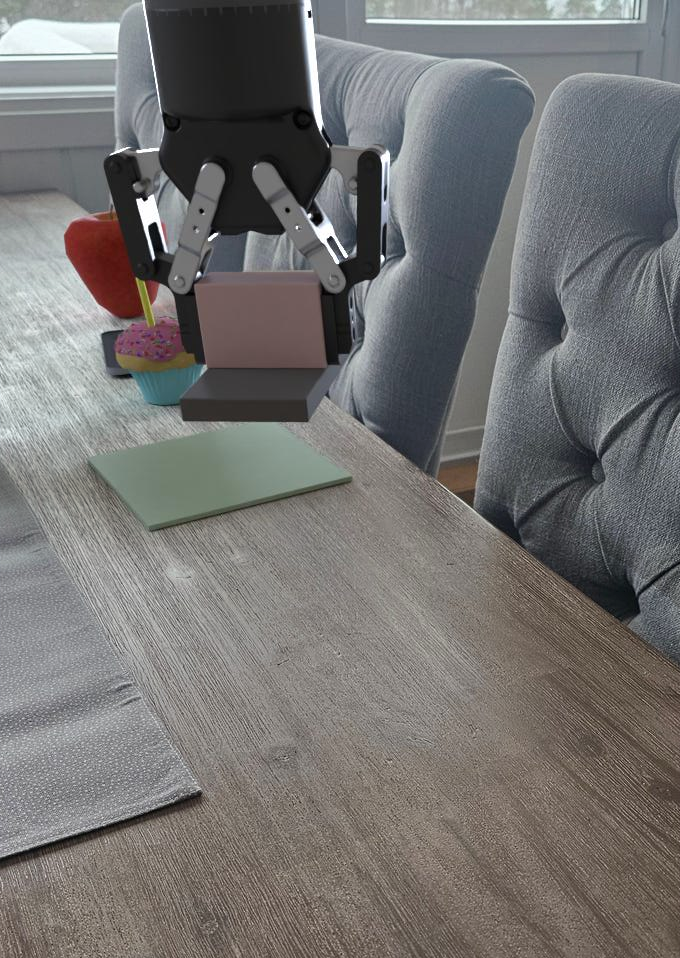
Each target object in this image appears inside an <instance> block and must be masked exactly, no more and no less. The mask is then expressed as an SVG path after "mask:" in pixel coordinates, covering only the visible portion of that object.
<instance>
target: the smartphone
mask: <svg viewBox="0 0 680 958" xmlns="http://www.w3.org/2000/svg"><path fill="white" fill-rule="evenodd" d="M125 329H126V328H124V329H123V328H122V329H116V330H115V329H114V330H107V331H104V332H100V334H99V335H100V341H101V342H100V343H101V349H102V353H103V363H104V365H105V370H106V373H107V374H108V375H111V376H121V375H129V374H130V375H131V373H130V372H129V370H127V369H124V368H122V367H121V366H120V365H119V363H118V362H117V359H116V352H115V349H114V346H115V342H116V340H117V339H118V335H119V334H122V332H123V331H124V330H125Z"/></svg>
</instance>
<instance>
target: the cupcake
mask: <svg viewBox="0 0 680 958" xmlns="http://www.w3.org/2000/svg"><path fill="white" fill-rule="evenodd" d="M136 281H137V285H138V289H139V293H140V297H141V301H142V305H143V309H144V313H145V314H144V316H145V319H144V320H143V321H139V322H136V323H131V324H130V326H128V327H127V328H124V329H125V330H124V331H123V332H122V334H119V335H118V339H117V340H116V342H115V346H114V349H115V352H116V359H117V362H118V363H119V365H120V366H121V367H122V368H124V369H127V370H129V372H130V375H131V377H132V378H133V380H134V381H135V383H136V385H137V386H138V388H139V390H140V392H141V394H142V396H143V399H144V400H145V401H146V402H147V403H148V404H152V405H157V406H170V405H171V406H172V405H178V404H179V405H180V403H179V398H180V397H181V396H182V395H183V394H184V393H185V392H186V391H187V390H188V389H189V388H190V387H191V386H192V385H193V384H194V383H195V381H196V380H197V379H198V378H199V377H200V376H201V375H202V374H201V373H202V370H203V367H204V365H197V364H196V362H195V358H194V354H187V352H186V351H185V349H184V347H183V345H182V341H181V335H180V329H179V323H178V318H176V317H172V316H168V317H167V316H166V315H163V316H159V317H154V314H153V309H152V305H151V306H150V302H149V298H148V294H147V290H146V286H145V282H144V281H142V280H139V279H138V278H136Z"/></svg>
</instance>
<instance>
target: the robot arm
mask: <svg viewBox="0 0 680 958" xmlns="http://www.w3.org/2000/svg"><path fill="white" fill-rule="evenodd" d="M142 4H143V11H144V16H145V22H146V29H147V34H148V35H147V36H148V42H149V47H150V53H151V54H150V55H151V60H152V66H153V72H154V79H155V86H156V91H157V99H158V103H159V110H160V115H161V118H162V125H163V128H162V129H163V132H162V137H161V141H160V143H159V145H158V147H157V148H149V149H140V150H139V149H138V148H136V147H134V146H128V147H125V148H122V149H120V150H117V151H115V152H112V153H110V154H109V155H106V157H105V158H104V159H103V164H102V165H103V170H104V175H105V178H106V181H107V185H108V189H109V192H110V196H111V199H112V200H111V201H112V203H113V204H112V205H113V208H114V211H116V214H117V218H118V222H119V225H120V229H121V233H122V236H123V240H124V243H125V247H126V251H127V254H128V258H129V262H130V265H131V269H132V272H133V274H134V275H135V277H136V278H138V279H139V280H142V281H149V280H151V281H154V282H157V283H160V284H159V285H163V286H165V287H166V288H167V289H168V290H169V291H170V292H171V294H172V296H173V298H174V299H173V300H174V304H175V311H176V317H177V319H178V323H179V329H180V335H181V341H182V345H183V347H184V349H185V351H186V352H187V354H194V358H195V362H196V364H197V365H203V366H206V360H205V354H204V347H203V341H202V334H201V328H200V321H199V315H198V308H197V302H196V295H195V289H194V285H195V284H196V283H197V282H198V281H200V280H201V279H202V278H203V277H205V276H206V273H207V270H208V267H209V265H210V261H211V258H212V256H213V253H214V251H215V248H216V246H217V245H218V243H219V241H220V239H221V236H222V237H223V236H238V235H242V234H246V233H248V232H254V233H258V234H262V235H266V236H283V235H284V234H286V233H287V235H288V236H289V238H290V240H291V241H292V243H293V245H294V246H295V248H296V249H297V251H298V252H299V254H301V255H302V256H304V257H305V259H306V260H307V262H308V264H309V265H310V266H311V268H312V270H314V271H315V273H316V275H317V276H318V278H319V279H320V281H321V283H322V284H323V286H324V291H323V293H322V294H321V295H320V300H321V310H322V320H323V330H324V341H325V351H326V361H327V364H328V365H341V364H342V363H343V361H344V359H345V358H346V354H350V352H351V350H352V349H353V347H354V344H355V341H356V338H357V334H356V323H357V321H356V322H355V315H356V309H355V310H354V302H355V297H354V298H353V290H354V286H355V285H358V284H360V283H362V282H365V281H374V280H375V279H376V278H378V276H379V275H380V274H381V271H382V270H383V269H384V267H385V266H386V264H387V262H388V245H389V244H388V241H389V206H390V205H389V203H390V200H389V199H390V170H391V169H390V167H391V166H390V163H391V160H390V159H391V156H390V155H391V154H390V151H389V149H387V147H386V146H385V145H383V144H381V143H373V144H371V145H369V146H368V147H363V146H362V147H361V146H351V145H341V144H334V143H333V140H332V139H331V137H330V136H329V134H328V132H327V129H326V128H325V126H324V122H323V118H322V109H321V99H320V87H319V77H318V75H319V74H318V65H317V54H316V43H315V33H314V31H315V30H314V22H313V11H312V0H142ZM332 169H334V170H335V171H337V172H338V173H339V174H340V176H341V178H342V180H343V182H342V183H343V187H344V189H345V191H346V192H347V193H348V194H350V195H352V196H356V231H355V232H356V233H355V234H356V235H355V237H356V238H355V240H356V241H355V243H356V244H355V245H356V246H355V253H352V254H350V255H348V254H347V253H346V251H345V250H344V247H343V246H342V245H341V243H340V241H339V239H338V238H337V236H336V234H335V229H334V226H333V225H332V223H331V220H330V219H329V217H328V215H327V214H326V213H325V210H324V209H323V208H322V205H321V204H320V202H319V200H318V199H317V195H318V194H319V192H320V190H321V189H322V187H323V185H324V183H325V181H326V180H327V178H328V176H329V174H330V172H331V171H332ZM162 173H164V174H165V176H167V178H168V179H169V180H170V182H171V183H172V184H173V185H174V186H175V187H176V189H177V190H178V191H179V193H180V194H181V195H182V196H183V198H184V199H185V200H186V201H187V202H188V204H189V207H188V210H187V213H186V216H185V219H184V222H183V225H182V227H181V231H180V234H179V236H178V241H177V246H178V247H177V250H176V253H175V254H172V253H169V251H168V245H167V246H166V242H165V239H164V235H163V231H162V227H161V223H160V220H161V219H160V215H159V212H158V207H157V204H156V200H155V196H154V195H155V194H157V193H158V192H159V191H160V189H161V174H162ZM311 215H312V216H311ZM354 348H355V347H354ZM353 350H354V349H353ZM351 353H352V352H351ZM350 355H351V354H350Z"/></svg>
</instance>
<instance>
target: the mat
mask: <svg viewBox="0 0 680 958" xmlns="http://www.w3.org/2000/svg"><path fill="white" fill-rule="evenodd" d="M86 461H87V463H88V464H89V465H90V466H91V467H92V468H93V470H94V471H95V472H96V473H97V474H98V475H99V477H101V478H102V480H103V481H104V482H105V483H106V484H107V485H108V487H110V489H111V490H112V491H113V492H114V493H115V494H116V496H117V497H118V498H119V499H120V500H121V501H122V502H123V503H124V505H125V506H127V508H129V510H130V511H131V512H132V513H133V514H134V516H135V517H136V518H137V519H138V520H139V521H140V523H142V525H144V527H145V528H146V529H147V530H148V531H149V532H152V531H155V530H160V529H164V528H167V527H171V526H176V525H180V524H184V523H188V522H193V521H196V520H199V519H200V520H201V519H205V518H207V517H212V516H216V515H220V514H225V513H228V512H232V511H236V510H240V509H244V508H248V507H252V506H255V505H260V504H264V503H268V502H272V501H276V500H280V499H284V498H289V497H293V496H296V495H300V494H303V493H308V492H312V491H316V490H320V489H324V488H329V487H332V486H335V485H336V486H337V485H340V484H344V483H348V482H352V481H353V476H352V474H350V473H349V472H347V471H345V470H344V469H342V468H341V467H340V466H339V465H337V464H336V463H334V462H333V461H332V460H330V459H329V458H327V456H324V455H323V454H322V453H320V451H319V452H318V451H317V450H316V449H314V448H313V447H311V446H310V445H309V444H308V443H306V442H305V441H303V440H302V439H300V438H299V436H296V435H295V434H293V433H292V432H291V431H289V430H288V429H286V428H285V427H284V426H282V425H281V424H279V422H244V423H241V424H237V425H231V426H228V427H223V428H219V429H214V430H208V431H205V432H203V431H202V432H200V433H194V434H190V435H186V436H181V437H180V436H179V437H176V438H171V439H167V440H162V441H158V442H157V441H156V442H153V443H148V444H143V445H139V446H134V447H130V448H124V449H119V450H115V451H111V452H106V453H102V454H97V455H92V456H88V457H86Z"/></svg>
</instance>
